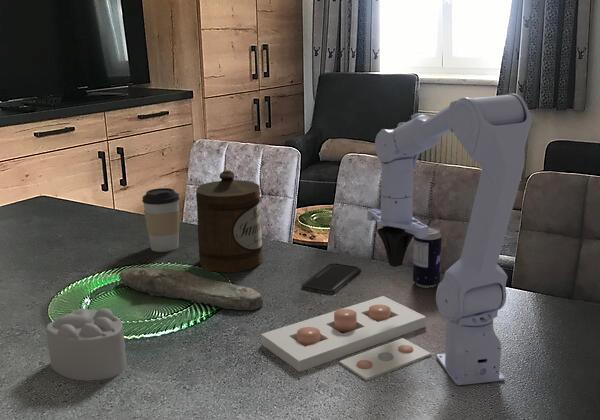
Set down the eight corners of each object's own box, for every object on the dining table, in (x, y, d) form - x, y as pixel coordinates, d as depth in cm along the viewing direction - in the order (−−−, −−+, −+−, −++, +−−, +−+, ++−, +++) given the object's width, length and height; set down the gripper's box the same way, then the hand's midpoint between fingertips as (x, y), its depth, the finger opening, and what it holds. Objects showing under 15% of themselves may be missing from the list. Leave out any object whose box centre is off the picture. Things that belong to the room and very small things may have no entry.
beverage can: (439, 290, 142) (441, 235, 138) (412, 288, 143) (413, 234, 140) (439, 279, 147) (441, 226, 144) (413, 278, 148) (414, 225, 145)
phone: (362, 267, 153) (333, 291, 141) (362, 272, 154) (333, 296, 141) (331, 262, 157) (299, 284, 144) (331, 267, 157) (299, 289, 145)
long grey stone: (247, 325, 131) (272, 308, 140) (248, 300, 130) (273, 284, 139) (107, 288, 146) (138, 274, 155) (107, 264, 145) (137, 252, 154)
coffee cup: (143, 245, 174) (137, 188, 170) (177, 239, 178) (173, 183, 174) (151, 255, 166) (146, 196, 162) (187, 249, 170) (183, 191, 166)
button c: (311, 337, 121) (311, 324, 120) (324, 346, 118) (324, 333, 117) (292, 344, 119) (292, 330, 118) (305, 352, 116) (305, 339, 115)
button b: (347, 319, 125) (347, 307, 124) (361, 327, 122) (361, 314, 121) (329, 325, 123) (329, 312, 122) (343, 333, 120) (343, 320, 119)
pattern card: (402, 340, 121) (402, 337, 120) (430, 355, 115) (430, 352, 115) (339, 363, 113) (339, 359, 113) (366, 380, 108) (366, 377, 107)
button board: (383, 305, 135) (383, 295, 135) (425, 326, 125) (426, 316, 125) (261, 344, 120) (261, 334, 120) (299, 372, 111) (299, 361, 110)
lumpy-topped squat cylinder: (93, 342, 123) (87, 297, 120) (142, 361, 115) (137, 314, 113) (42, 366, 115) (35, 319, 112) (92, 388, 107) (86, 339, 105)
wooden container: (255, 274, 153) (251, 178, 147) (191, 271, 155) (185, 177, 149) (268, 252, 167) (265, 164, 161) (210, 250, 169) (204, 163, 163)
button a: (380, 314, 130) (380, 302, 129) (394, 322, 126) (395, 309, 126) (364, 320, 128) (364, 308, 127) (378, 327, 124) (378, 315, 124)
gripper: (354, 190, 127) (354, 258, 131) (407, 206, 116) (406, 281, 119) (383, 184, 131) (382, 251, 135) (437, 200, 119) (435, 272, 123)
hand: (395, 265), depth 127 cm, fingers closed
